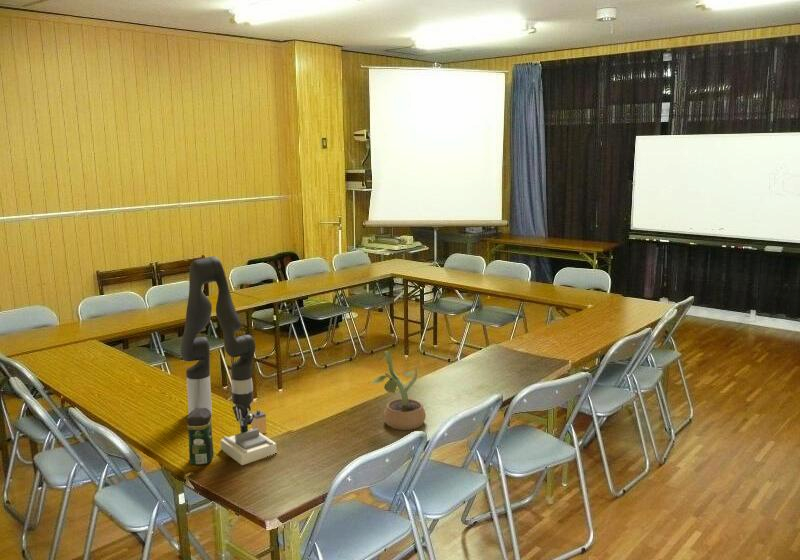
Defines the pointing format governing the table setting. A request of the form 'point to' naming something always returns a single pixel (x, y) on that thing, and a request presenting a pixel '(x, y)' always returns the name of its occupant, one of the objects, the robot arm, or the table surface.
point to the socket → (248, 449)
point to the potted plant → (401, 401)
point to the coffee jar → (200, 436)
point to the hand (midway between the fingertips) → (244, 434)
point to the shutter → (249, 438)
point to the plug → (259, 421)
